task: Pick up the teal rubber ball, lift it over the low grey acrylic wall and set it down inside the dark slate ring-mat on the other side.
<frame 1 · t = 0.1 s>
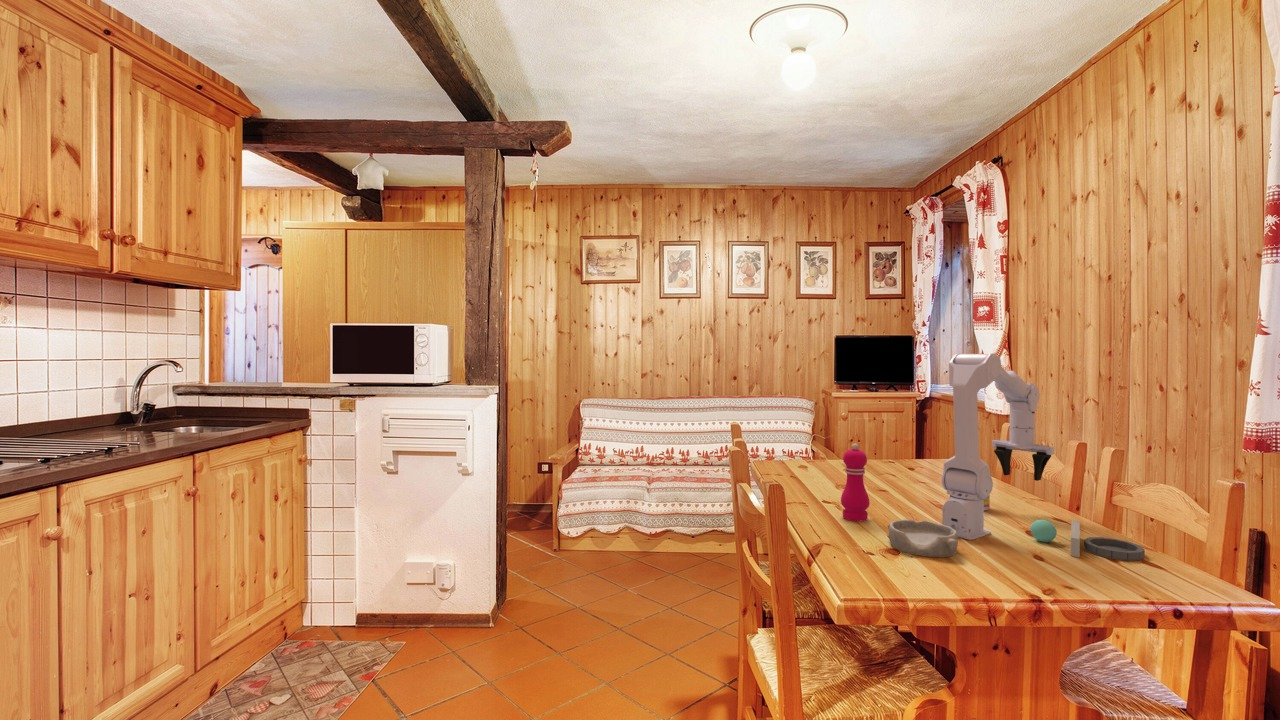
hand: (1021, 477, 156), 10 cm above the table, tool pointing down, fingers open, 7 cm apart
dish: (921, 549, 131), on the table
pepper mill: (855, 518, 154), on the table
acrylic wall: (1075, 546, 131), on the table
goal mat: (1113, 552, 126), on the table
supplement bottle: (975, 508, 163), on the table
ball: (1043, 530, 134), point 2 cm above the table
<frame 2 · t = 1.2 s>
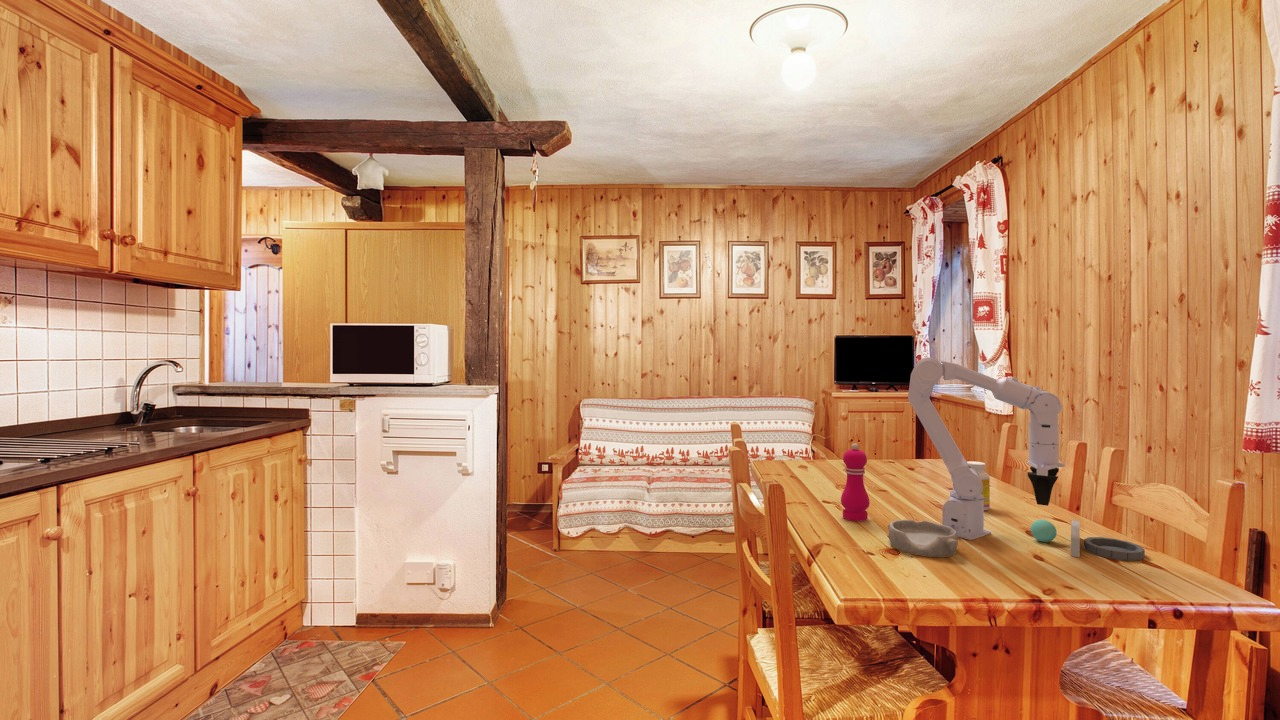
hand: (1043, 501, 134), 9 cm above the table, tool pointing down, fingers open, 7 cm apart
nothing on the table moved.
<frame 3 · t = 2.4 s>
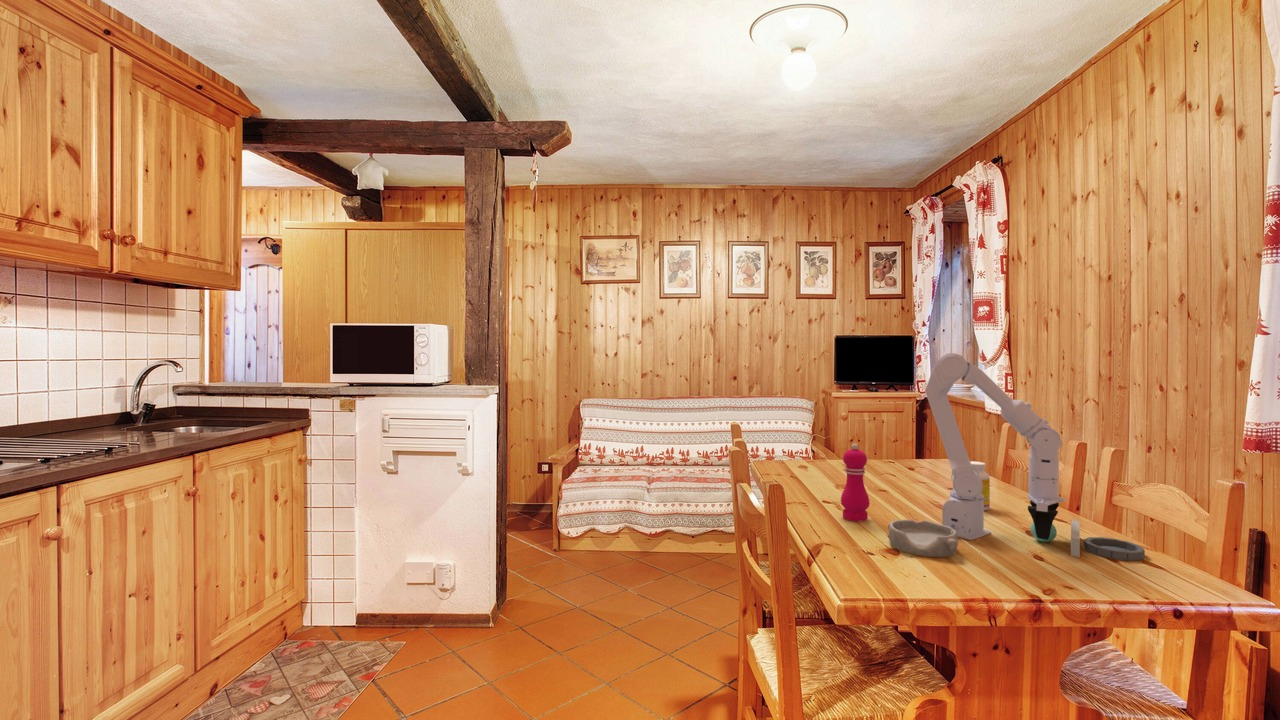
hand: (1043, 535, 134), 1 cm above the table, tool pointing down, fingers closed on ball, 5 cm apart
ball: (1043, 530, 134), point 2 cm above the table, touching gripper
everything else where it was.
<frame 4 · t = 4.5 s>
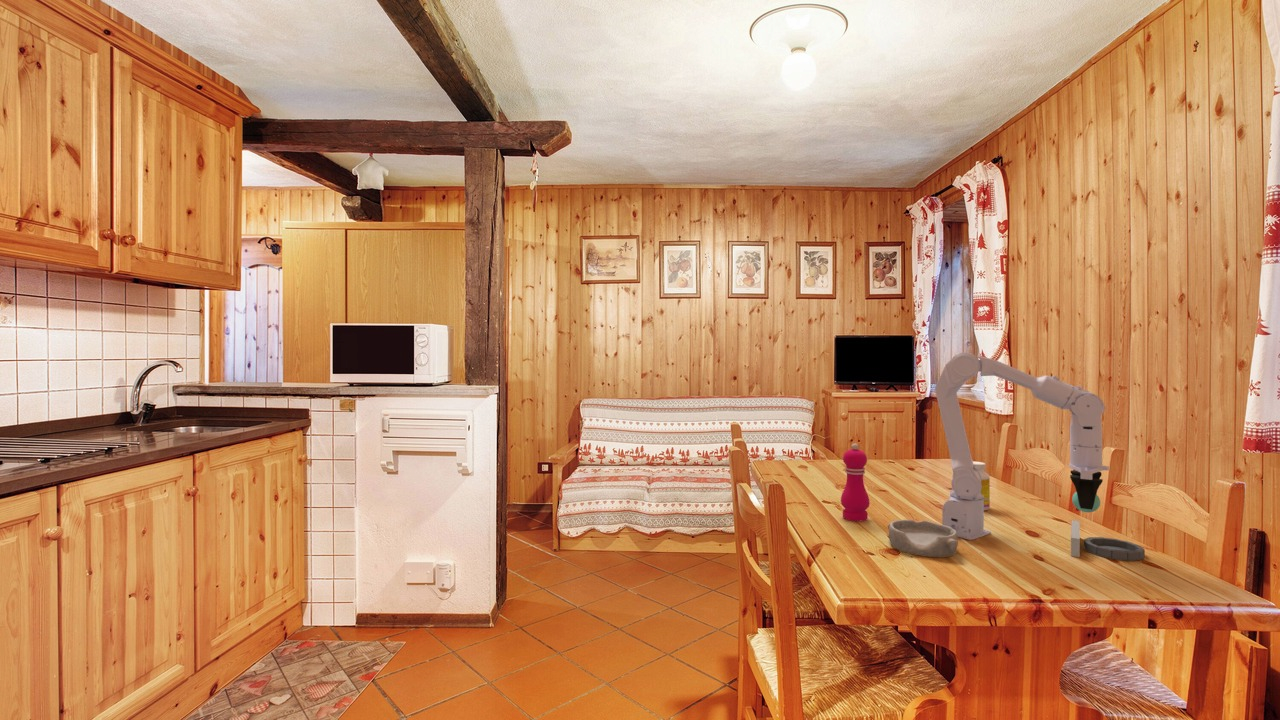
hand: (1086, 505, 129), 10 cm above the table, tool pointing down, fingers closed on ball, 5 cm apart
ball: (1086, 500, 129), point 11 cm above the table, touching gripper
everything else where it was.
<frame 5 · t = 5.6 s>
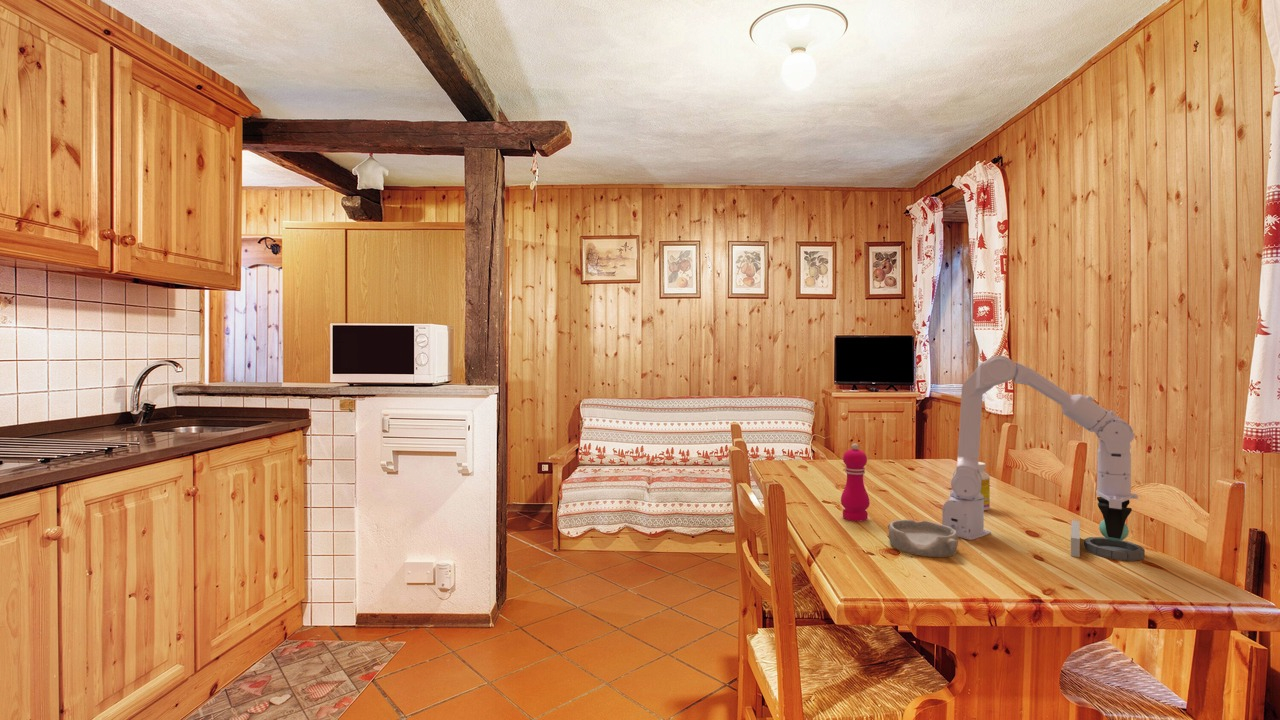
hand: (1113, 534, 126), 4 cm above the table, tool pointing down, fingers closed on ball, 5 cm apart
ball: (1113, 529, 126), point 5 cm above the table, touching gripper
everything else where it was.
when the fingers open (2 cm above the table, at t = 6.4 s): ball stays where it is, resting on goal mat.
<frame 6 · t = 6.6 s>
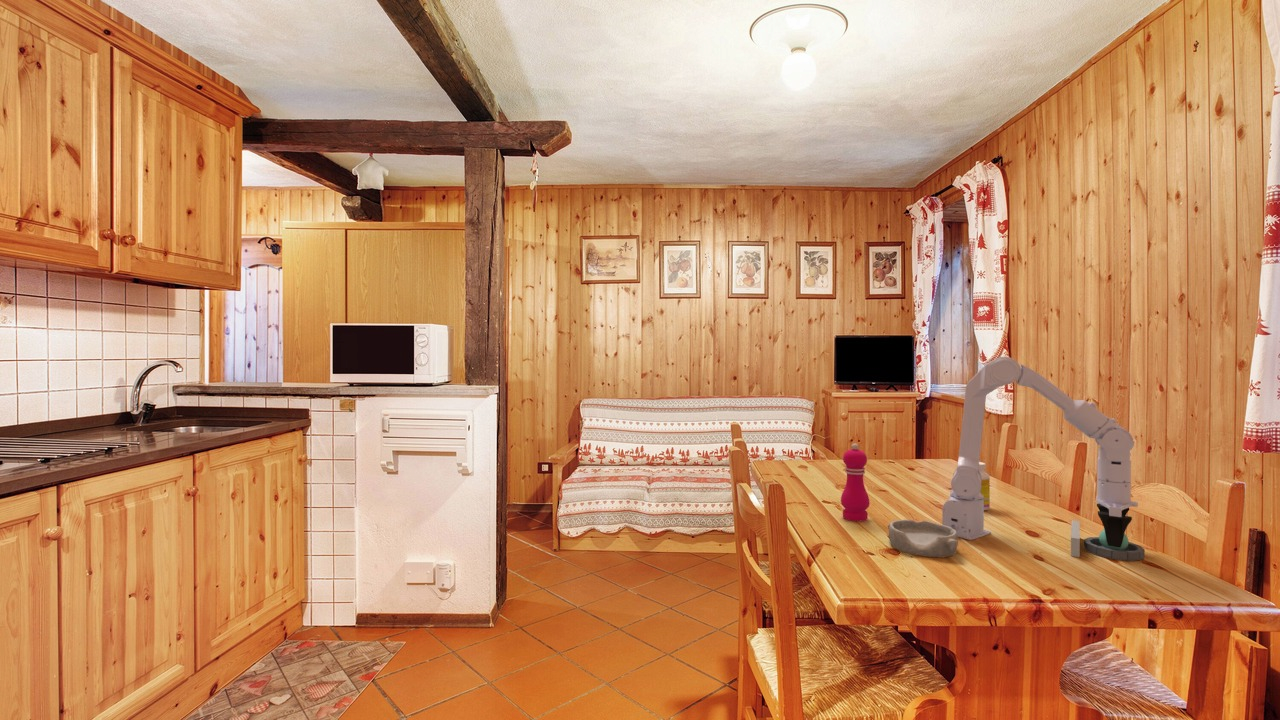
hand: (1113, 541, 126), 2 cm above the table, tool pointing down, fingers open, 6 cm apart
ball: (1113, 539, 126), point 3 cm above the table, touching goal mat
everything else where it was.
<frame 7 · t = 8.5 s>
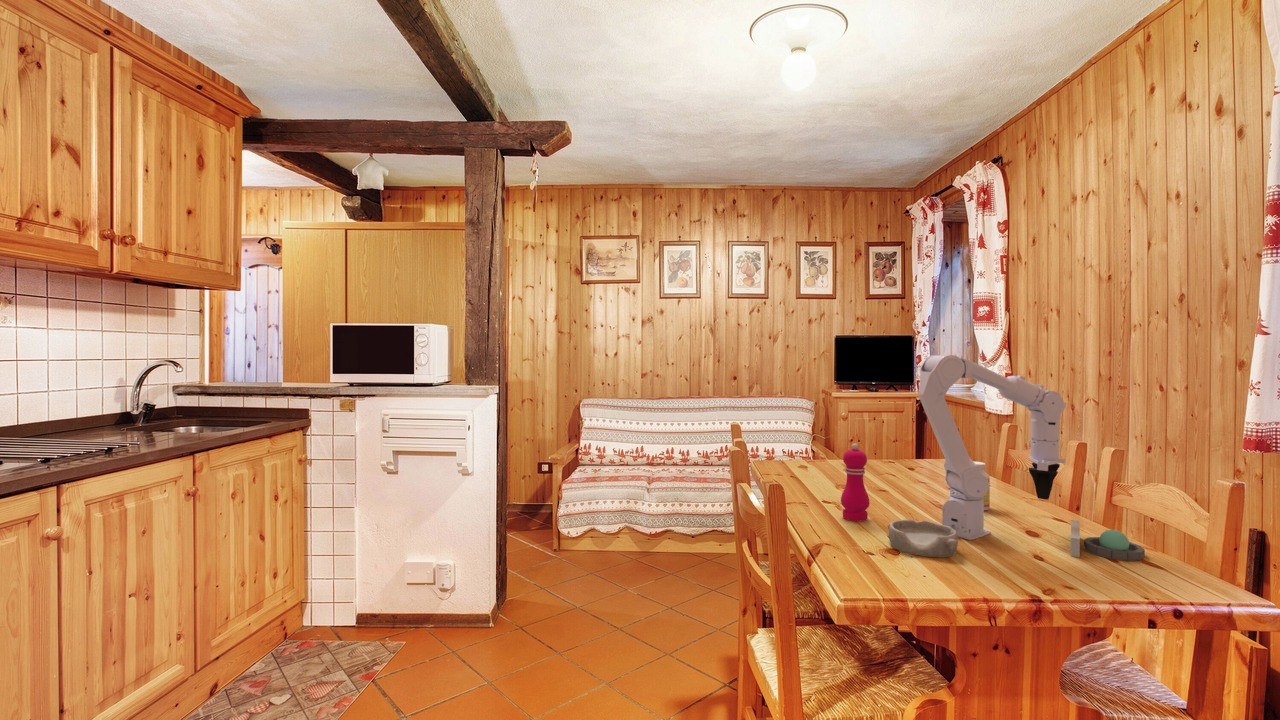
hand: (1044, 495, 139), 9 cm above the table, tool pointing down, fingers open, 7 cm apart
ball: (1114, 541, 125), point 3 cm above the table, tilted 41°, touching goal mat
everything else where it was.
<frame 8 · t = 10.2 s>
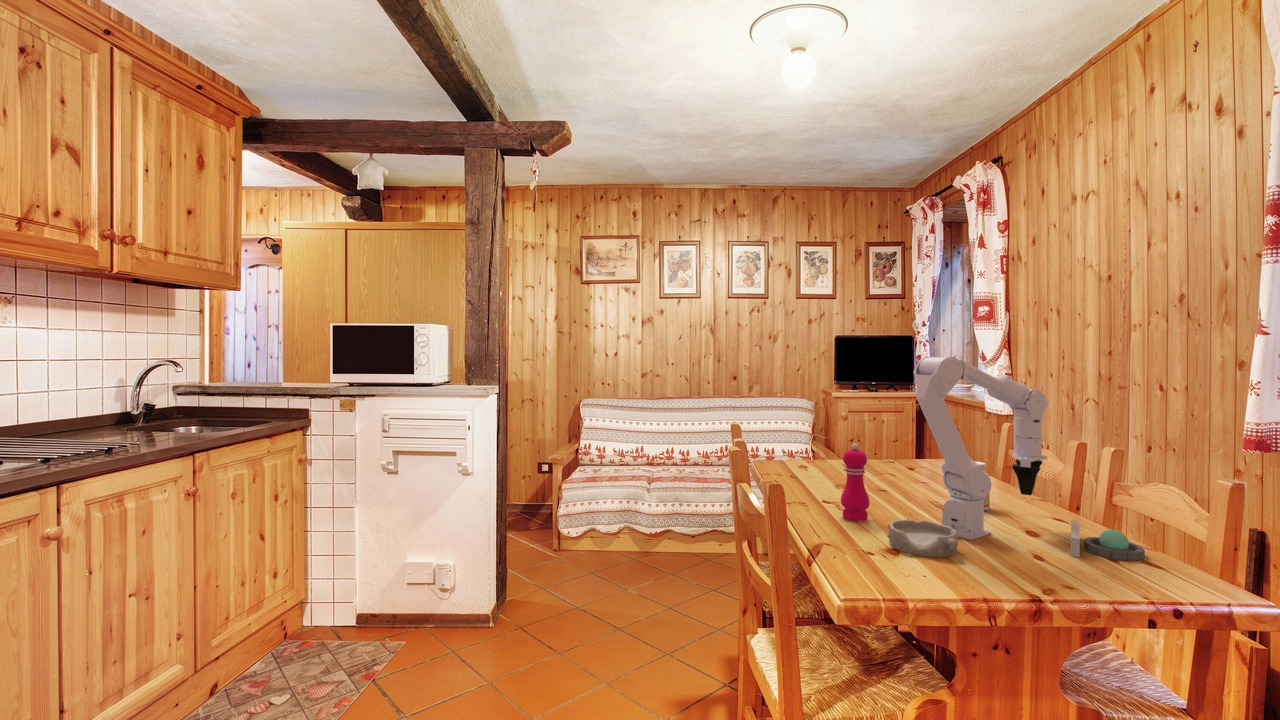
hand: (1027, 491, 143), 9 cm above the table, tool pointing down, fingers open, 7 cm apart
ball: (1113, 541, 125), point 3 cm above the table, tilted 36°, touching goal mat
everything else where it was.
at the end: ball 1.5 cm from the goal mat (horizontally); ball point 2.9 cm above the table; the gripper is holding nothing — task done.
